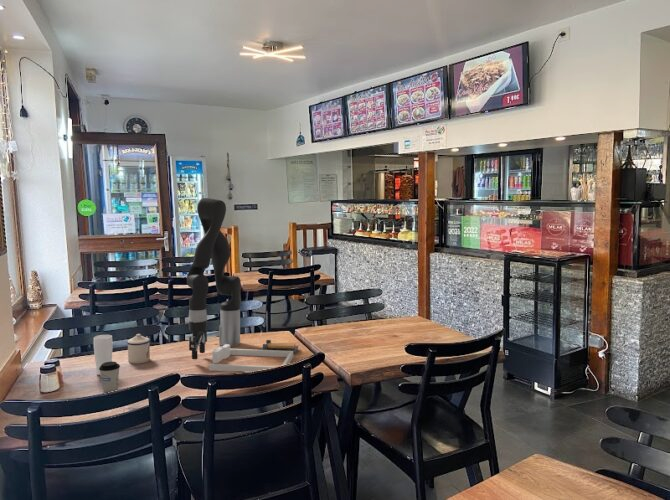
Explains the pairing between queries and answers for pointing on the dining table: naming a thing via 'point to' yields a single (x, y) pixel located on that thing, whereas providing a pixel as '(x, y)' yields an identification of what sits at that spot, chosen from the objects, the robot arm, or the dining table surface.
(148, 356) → the teacup with lid
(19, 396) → the dining table surface
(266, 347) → the pedal base
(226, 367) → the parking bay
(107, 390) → the coffee cup
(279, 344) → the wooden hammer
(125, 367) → the dining table surface
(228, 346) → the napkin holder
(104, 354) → the drinking glass
